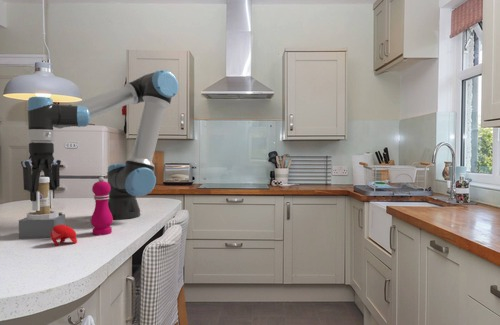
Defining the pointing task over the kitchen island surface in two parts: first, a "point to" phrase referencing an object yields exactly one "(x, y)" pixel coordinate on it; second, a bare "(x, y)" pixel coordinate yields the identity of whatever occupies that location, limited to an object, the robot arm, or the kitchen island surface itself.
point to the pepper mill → (101, 208)
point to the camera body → (40, 224)
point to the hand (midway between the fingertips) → (42, 209)
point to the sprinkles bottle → (44, 196)
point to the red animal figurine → (63, 234)
